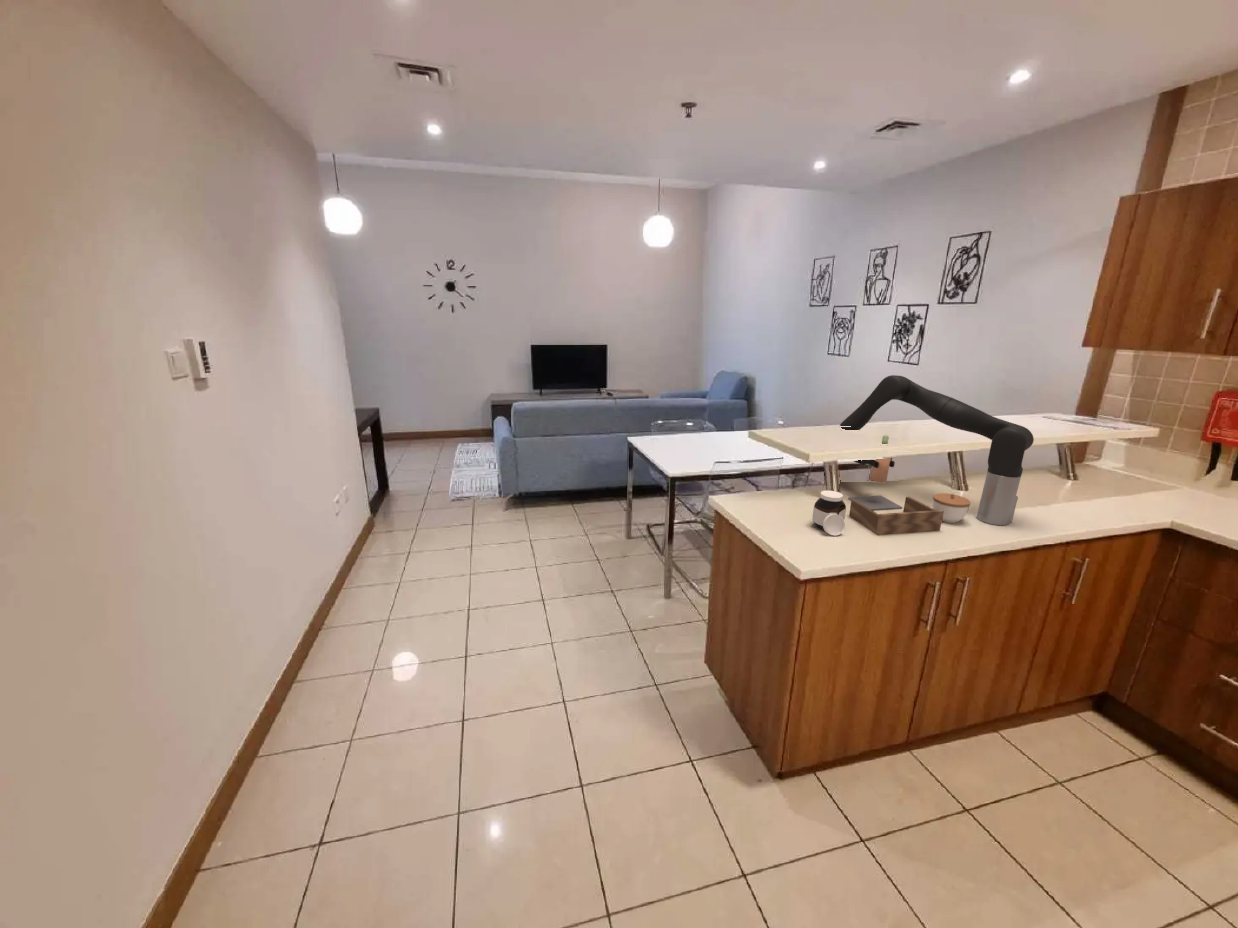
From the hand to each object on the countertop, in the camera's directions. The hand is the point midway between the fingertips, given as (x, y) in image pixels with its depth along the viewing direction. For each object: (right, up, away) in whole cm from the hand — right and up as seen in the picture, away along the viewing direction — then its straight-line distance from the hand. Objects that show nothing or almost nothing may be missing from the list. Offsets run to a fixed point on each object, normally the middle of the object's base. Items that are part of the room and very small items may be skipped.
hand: (885, 464), depth 180 cm
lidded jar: (+18, -19, -6) cm, 27 cm away
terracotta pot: (0, -6, +4) cm, 7 cm away
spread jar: (-26, -22, -14) cm, 37 cm away
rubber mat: (0, -15, +7) cm, 16 cm away
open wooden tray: (-3, -20, -10) cm, 22 cm away
